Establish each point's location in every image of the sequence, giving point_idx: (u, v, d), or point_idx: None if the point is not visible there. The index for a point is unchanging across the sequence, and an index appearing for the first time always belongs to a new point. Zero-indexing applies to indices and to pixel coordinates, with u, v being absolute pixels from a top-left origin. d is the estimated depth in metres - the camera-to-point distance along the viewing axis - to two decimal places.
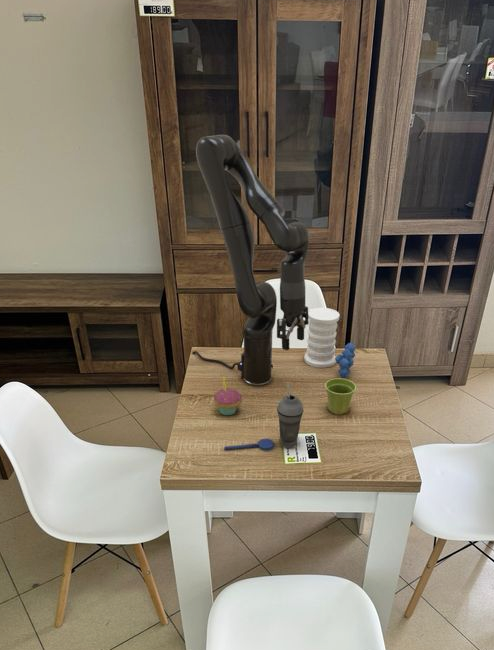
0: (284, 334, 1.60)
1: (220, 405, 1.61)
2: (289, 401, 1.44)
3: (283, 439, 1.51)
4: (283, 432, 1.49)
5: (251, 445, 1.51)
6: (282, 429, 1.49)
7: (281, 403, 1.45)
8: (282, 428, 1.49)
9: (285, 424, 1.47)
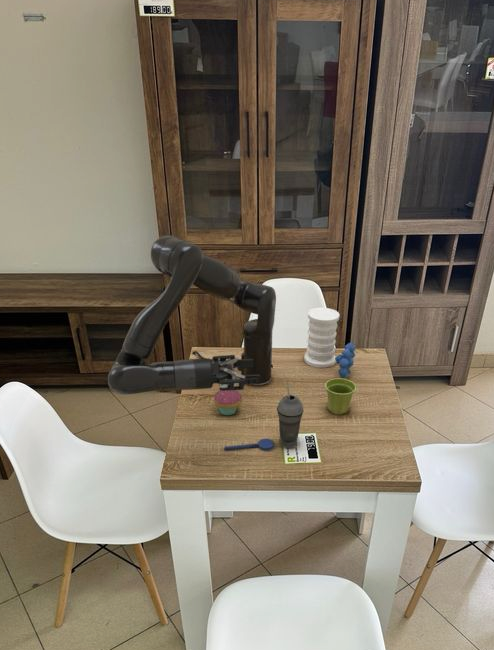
0: None
1: (220, 405, 1.61)
2: (289, 401, 1.44)
3: (283, 439, 1.51)
4: (283, 432, 1.49)
5: (251, 445, 1.51)
6: (282, 429, 1.49)
7: (281, 403, 1.45)
8: (282, 428, 1.49)
9: (285, 424, 1.47)
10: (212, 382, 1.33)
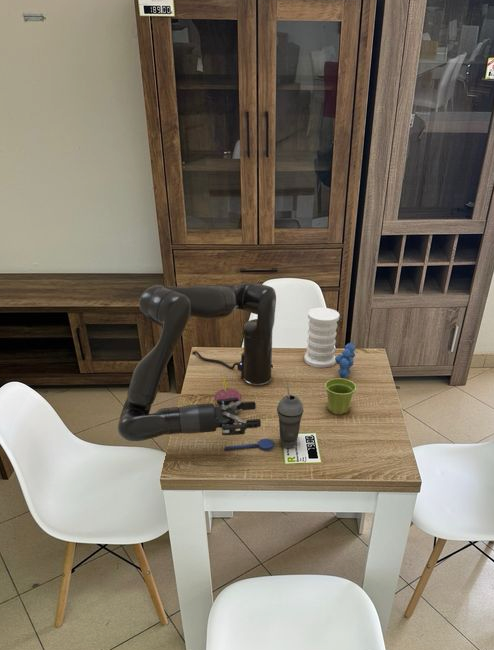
0: None
1: None
2: (289, 401, 1.44)
3: (283, 439, 1.51)
4: (283, 432, 1.49)
5: (251, 445, 1.51)
6: (282, 429, 1.49)
7: (281, 403, 1.45)
8: (282, 428, 1.49)
9: (285, 424, 1.47)
10: (215, 427, 1.41)
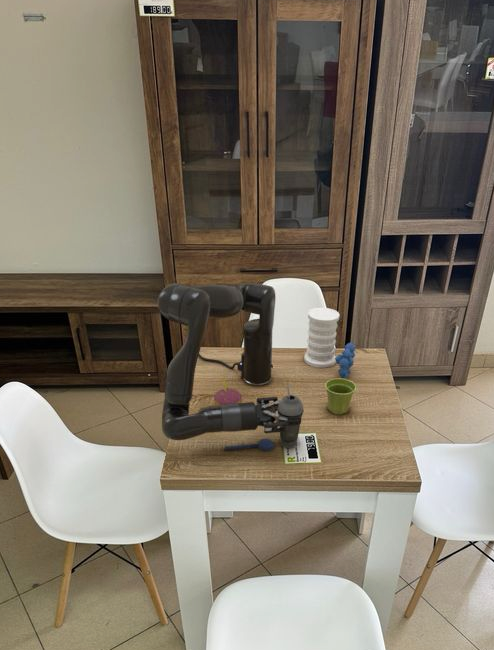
0: None
1: (220, 405, 1.61)
2: (289, 401, 1.44)
3: (283, 439, 1.51)
4: (283, 432, 1.49)
5: (251, 445, 1.51)
6: None
7: (281, 403, 1.45)
8: None
9: None
10: (256, 425, 1.44)
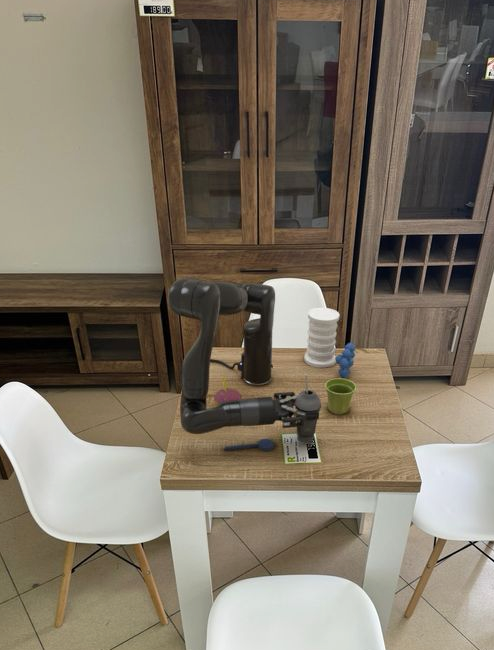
0: None
1: None
2: (307, 396, 1.45)
3: (300, 434, 1.51)
4: (300, 427, 1.50)
5: (251, 445, 1.51)
6: None
7: (299, 398, 1.46)
8: None
9: None
10: (274, 419, 1.44)
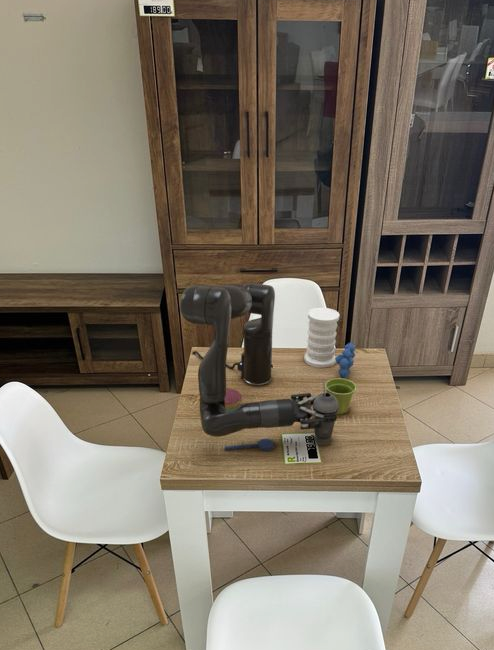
0: None
1: None
2: (325, 398, 1.46)
3: (318, 436, 1.53)
4: (318, 429, 1.51)
5: (251, 445, 1.51)
6: None
7: (317, 400, 1.47)
8: None
9: None
10: (293, 421, 1.46)
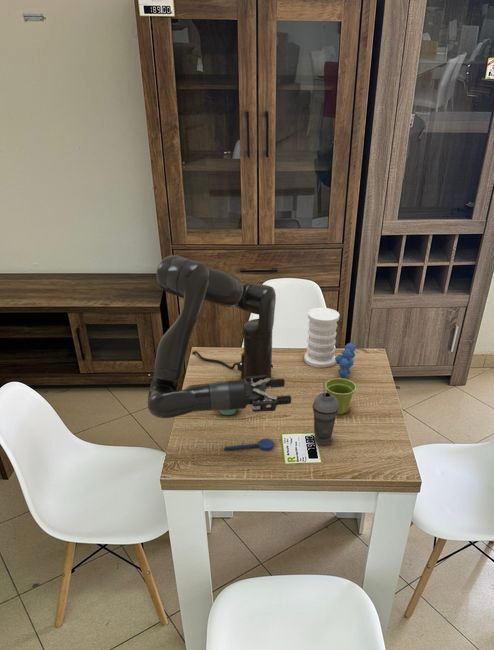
0: None
1: None
2: (325, 398, 1.46)
3: (318, 436, 1.53)
4: (318, 429, 1.51)
5: (251, 445, 1.51)
6: (317, 426, 1.51)
7: (317, 400, 1.47)
8: (318, 425, 1.50)
9: (320, 421, 1.49)
10: (245, 403, 1.39)
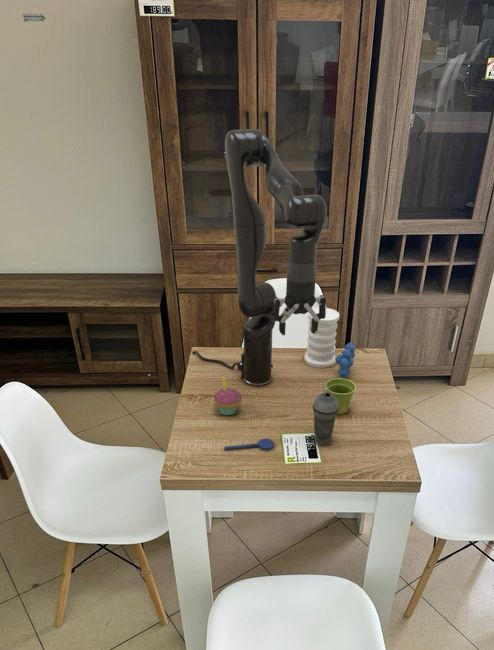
0: (276, 315, 1.44)
1: (220, 405, 1.61)
2: (325, 398, 1.46)
3: (318, 436, 1.53)
4: (318, 429, 1.51)
5: (251, 445, 1.51)
6: (317, 426, 1.51)
7: (317, 400, 1.47)
8: (318, 425, 1.50)
9: (320, 421, 1.49)
10: None
